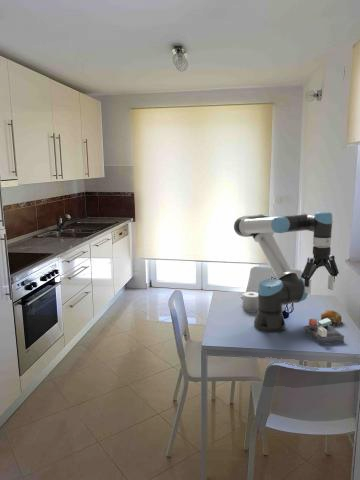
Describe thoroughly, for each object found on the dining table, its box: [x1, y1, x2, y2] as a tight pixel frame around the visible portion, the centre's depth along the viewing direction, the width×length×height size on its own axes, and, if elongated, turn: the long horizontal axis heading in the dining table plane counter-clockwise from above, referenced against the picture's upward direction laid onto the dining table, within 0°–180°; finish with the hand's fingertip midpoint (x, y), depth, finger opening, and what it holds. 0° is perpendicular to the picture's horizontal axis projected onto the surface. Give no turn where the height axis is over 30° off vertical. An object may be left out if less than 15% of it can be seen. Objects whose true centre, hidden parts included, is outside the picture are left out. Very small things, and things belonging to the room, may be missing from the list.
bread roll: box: [320, 309, 342, 326], centre depth 194 cm, size 10×10×8 cm
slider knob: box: [318, 326, 327, 337], centre depth 171 cm, size 2×4×4 cm, turn 9°
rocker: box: [317, 318, 332, 327], centre depth 181 cm, size 5×4×2 cm
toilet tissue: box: [240, 291, 258, 313], centre depth 216 cm, size 9×13×9 cm
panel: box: [303, 324, 345, 345], centre depth 177 cm, size 12×14×4 cm
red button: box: [308, 318, 318, 326], centre depth 180 cm, size 4×4×2 cm
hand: (319, 291), depth 174 cm, fingers open, 13 cm apart
